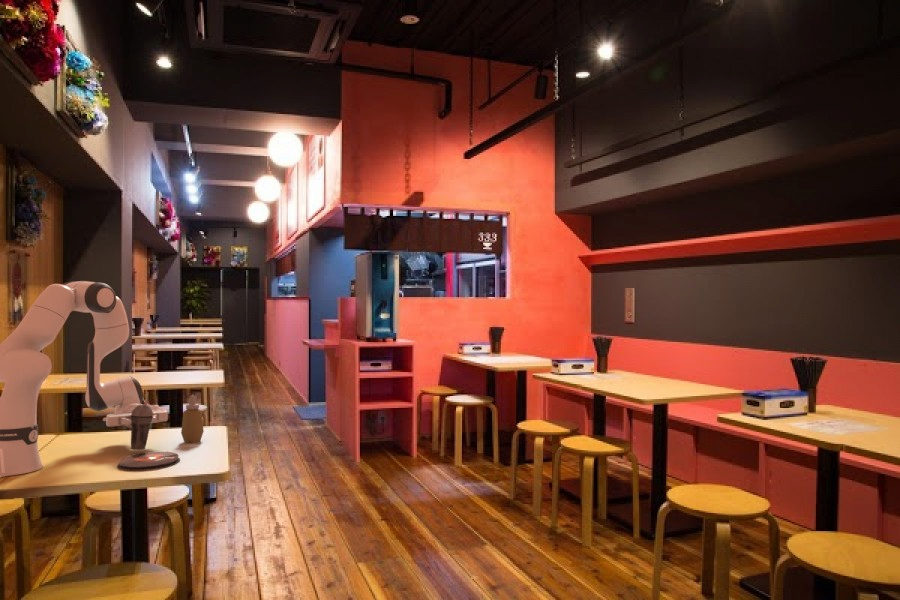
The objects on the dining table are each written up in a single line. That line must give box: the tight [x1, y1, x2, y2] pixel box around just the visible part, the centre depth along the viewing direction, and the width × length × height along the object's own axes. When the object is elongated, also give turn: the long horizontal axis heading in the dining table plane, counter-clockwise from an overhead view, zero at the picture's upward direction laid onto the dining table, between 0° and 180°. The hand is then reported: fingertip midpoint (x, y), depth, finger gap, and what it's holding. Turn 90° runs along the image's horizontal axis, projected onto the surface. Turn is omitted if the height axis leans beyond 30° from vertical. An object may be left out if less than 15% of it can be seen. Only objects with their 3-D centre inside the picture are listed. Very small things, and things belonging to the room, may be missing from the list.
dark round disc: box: [118, 451, 179, 469], centre depth 211 cm, size 18×18×1 cm
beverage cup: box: [130, 391, 153, 451], centre depth 224 cm, size 7×7×20 cm
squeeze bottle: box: [180, 394, 205, 444], centre depth 244 cm, size 8×8×18 cm
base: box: [116, 457, 181, 472], centre depth 211 cm, size 19×19×1 cm
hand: (141, 421), depth 223 cm, fingers closed on beverage cup, 6 cm apart
